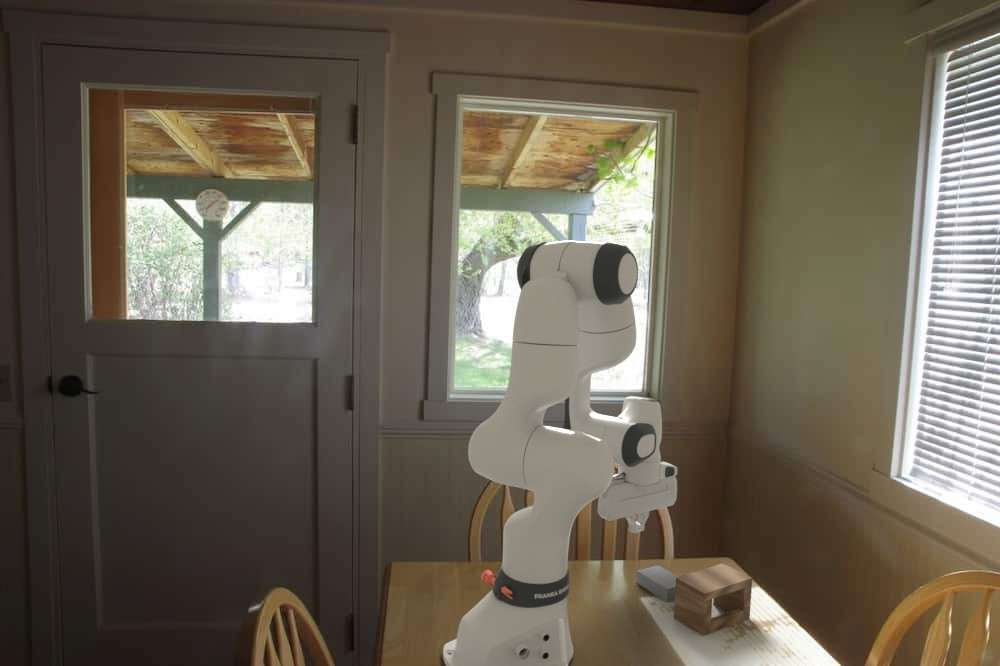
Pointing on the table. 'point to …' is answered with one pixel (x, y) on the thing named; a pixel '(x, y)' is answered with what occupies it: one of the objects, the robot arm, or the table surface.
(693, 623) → the shelf
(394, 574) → the table surface
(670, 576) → the grey rectangular block
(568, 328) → the robot arm
